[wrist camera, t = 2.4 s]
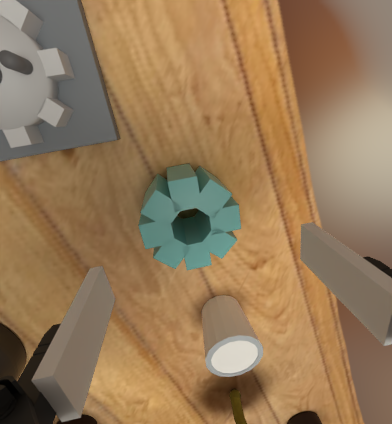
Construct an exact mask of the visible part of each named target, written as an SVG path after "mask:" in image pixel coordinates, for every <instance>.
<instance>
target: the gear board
mask: <svg viewBox="0 0 392 424" xmlns="http://www.w3.org/2000/svg"><path fill="white" fill-rule="evenodd" d="M118 139H120V136H119V132H118V129H117V125H116V122H115V118H114V115H113V111H112V108H111V104H110V101H109V97H108V94H107V90H106V87H105V83H104V80H103V76H102V73H101V69H100V66H99V62H98V59H97V55H96V52H95V48H94V45H93V41H92V38H91V34H90V31H89V27H88V24H87V20H86V17H85V13H84V10H83V6H82V3H81V0H0V161H4V160H10V159H15V158H21V157H26V156H32V155H37V154H43V153H48V152H54V151H59V150H65V149H70V148H76V147H81V146H87V145H92V144H98V143H103V142H109V141H114V140H118Z"/></svg>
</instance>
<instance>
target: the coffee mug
mask: <svg viewBox="0 0 392 424" xmlns="http://www.w3.org/2000/svg"><path fill="white" fill-rule="evenodd" d="M57 424H97V422H96V420H95V419H94V418H92V417H90V416H88V415H81V418H77V419H73V420H69V421H64V422H61V420H59V421H58V423H57Z"/></svg>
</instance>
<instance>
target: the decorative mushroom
mask: <svg viewBox="0 0 392 424" xmlns="http://www.w3.org/2000/svg"><path fill="white" fill-rule="evenodd" d="M240 398H241V394H240V392H239V391H238V390H236V389H234V390H232V391H231V392H230V399H231V404H232V410H233V415H234V420H235V422H236V424H247V422H246V420H245V418H244V413H243V409H242V404H241V400H240Z"/></svg>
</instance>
